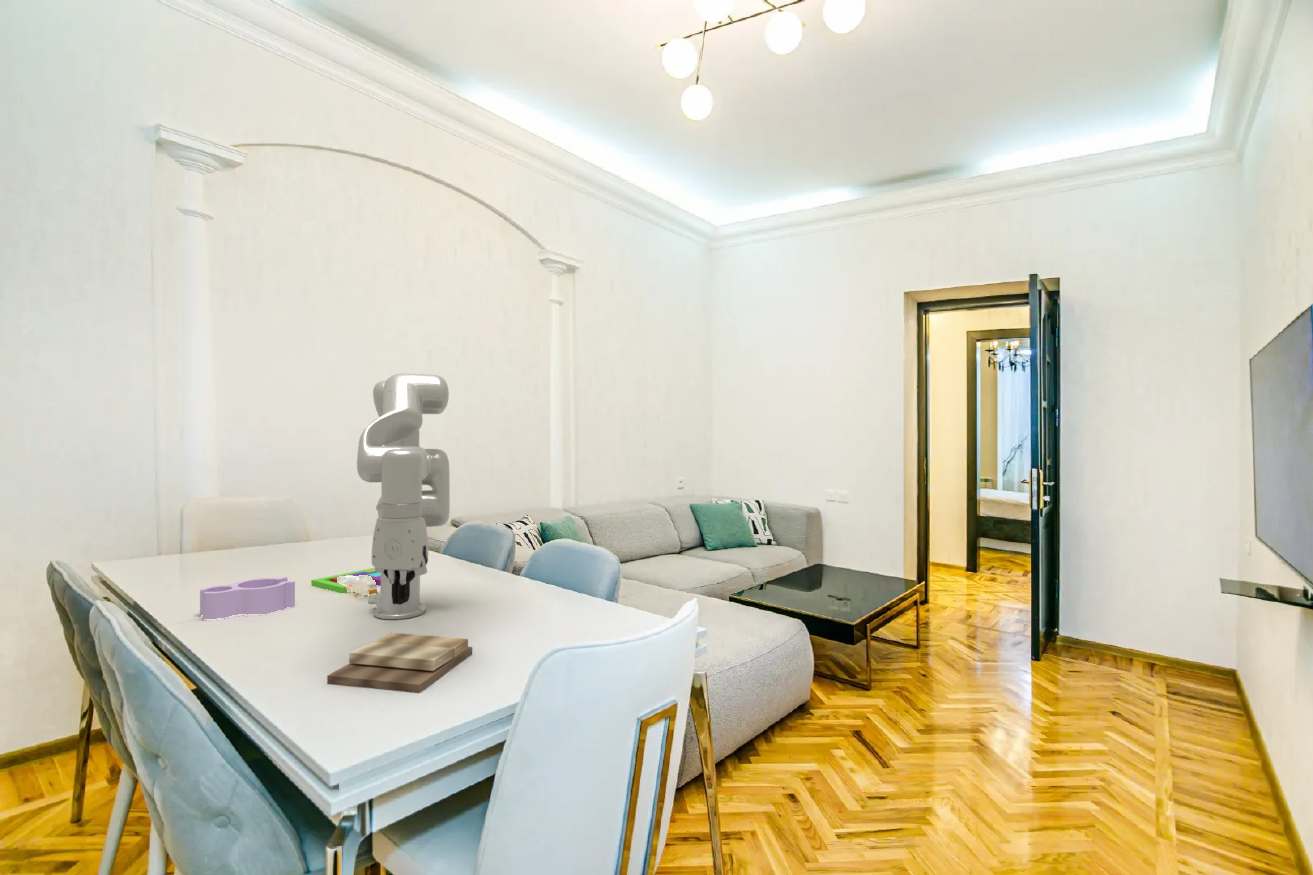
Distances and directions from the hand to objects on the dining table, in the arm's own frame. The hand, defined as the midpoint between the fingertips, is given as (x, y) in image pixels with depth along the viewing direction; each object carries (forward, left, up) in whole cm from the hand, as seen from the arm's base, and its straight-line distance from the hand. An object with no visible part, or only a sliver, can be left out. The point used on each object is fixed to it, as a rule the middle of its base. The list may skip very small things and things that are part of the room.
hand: (400, 602), depth 131 cm
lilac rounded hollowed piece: (-60, +27, -14) cm, 67 cm away
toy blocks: (-47, +60, -14) cm, 77 cm away
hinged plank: (0, 0, -12) cm, 12 cm away
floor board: (0, +1, -13) cm, 14 cm away
